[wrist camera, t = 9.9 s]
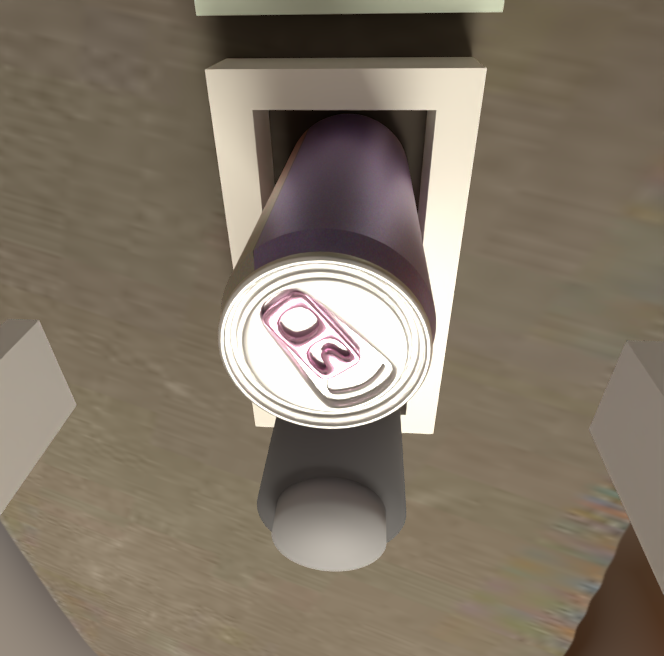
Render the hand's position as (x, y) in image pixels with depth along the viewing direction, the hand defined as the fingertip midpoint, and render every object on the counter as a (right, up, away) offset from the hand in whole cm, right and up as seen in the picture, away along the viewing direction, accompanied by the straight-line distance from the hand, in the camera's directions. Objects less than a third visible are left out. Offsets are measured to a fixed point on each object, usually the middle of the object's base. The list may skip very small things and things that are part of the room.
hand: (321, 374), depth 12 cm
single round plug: (+1, +1, +19) cm, 19 cm away
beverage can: (+1, +9, +14) cm, 16 cm away
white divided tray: (+1, +5, +16) cm, 17 cm away
